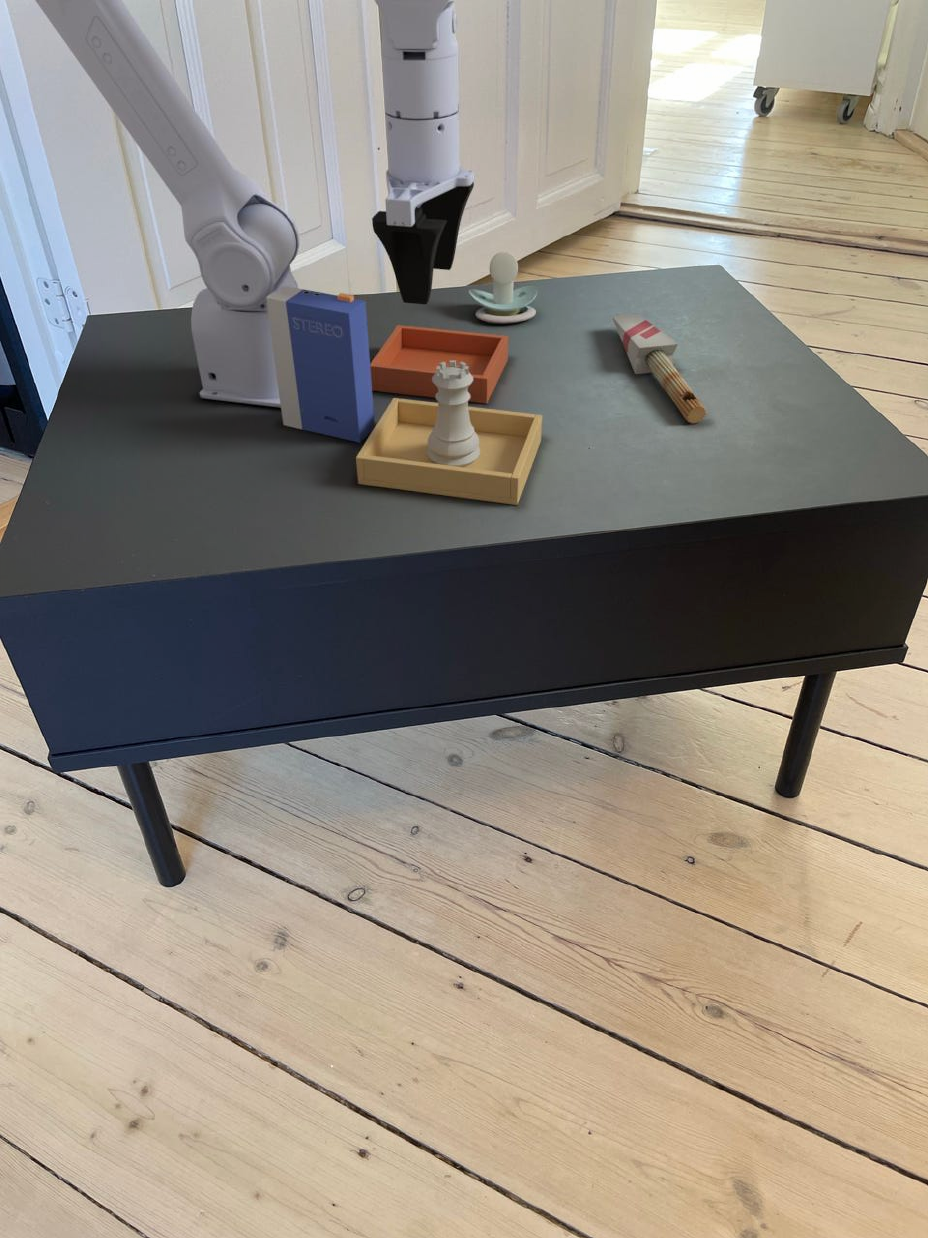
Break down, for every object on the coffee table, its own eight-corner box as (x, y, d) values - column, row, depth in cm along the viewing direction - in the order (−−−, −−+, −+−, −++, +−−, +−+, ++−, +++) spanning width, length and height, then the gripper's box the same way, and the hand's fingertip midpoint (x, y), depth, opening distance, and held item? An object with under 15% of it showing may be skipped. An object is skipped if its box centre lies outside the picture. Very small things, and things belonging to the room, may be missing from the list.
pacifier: (543, 325, 102) (532, 300, 106) (546, 266, 98) (535, 243, 102) (474, 329, 101) (466, 304, 106) (474, 270, 97) (466, 247, 101)
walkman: (375, 428, 86) (365, 295, 78) (359, 443, 84) (348, 308, 76) (299, 410, 88) (282, 280, 80) (282, 424, 86) (263, 292, 78)
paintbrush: (644, 298, 99) (718, 399, 85) (640, 324, 101) (713, 426, 86) (608, 301, 98) (676, 403, 84) (605, 327, 100) (671, 431, 86)
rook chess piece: (474, 473, 79) (475, 383, 74) (421, 467, 80) (417, 378, 74) (484, 445, 82) (485, 357, 77) (433, 440, 83) (431, 352, 78)
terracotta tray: (370, 390, 91) (368, 365, 89) (398, 348, 98) (397, 324, 96) (487, 403, 89) (487, 378, 87) (507, 359, 96) (508, 335, 94)
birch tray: (358, 484, 79) (355, 457, 77) (394, 422, 86) (393, 397, 85) (517, 505, 76) (518, 478, 75) (541, 440, 84) (542, 414, 82)
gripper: (448, 138, 69) (452, 322, 77) (493, 90, 79) (492, 257, 88) (353, 133, 70) (368, 315, 79) (410, 86, 81) (417, 251, 89)
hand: (428, 284), depth 84 cm, fingers open, 7 cm apart
